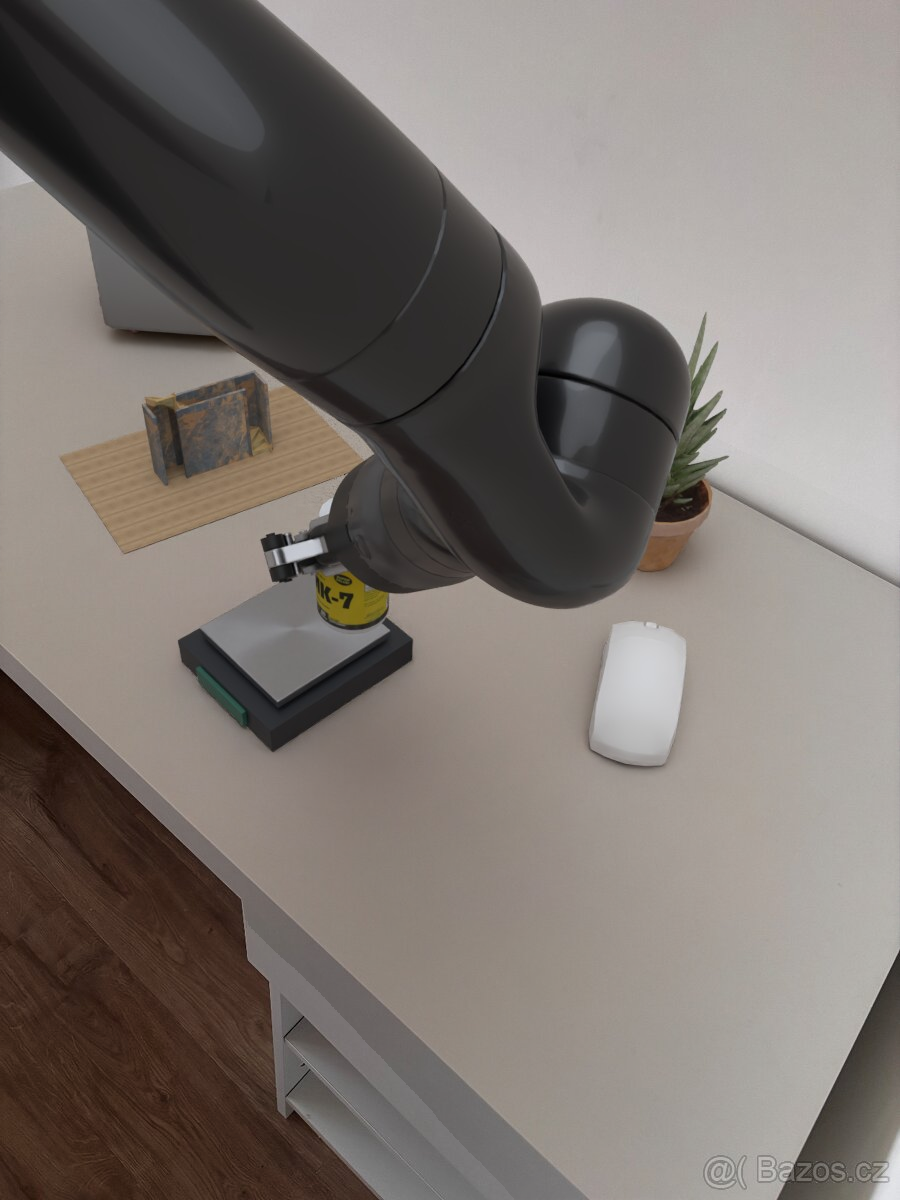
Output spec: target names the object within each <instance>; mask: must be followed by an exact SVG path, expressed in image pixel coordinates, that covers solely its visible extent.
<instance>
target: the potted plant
mask: <svg viewBox="0 0 900 1200" xmlns="http://www.w3.org/2000/svg"><path fill="white" fill-rule="evenodd" d="M707 314H708V312H707V311H705V312H704V314H703V317H702V320H701V323H700V327H699V329H698V333H697V337H696V340H695V343H694V346H693V350H692V353H691V355H690V359H689V361H688V363H687V364H688V367H689V371H690V378H691V397H690V405H689V410H688V413H687V417H686V421H685V424H684V427H683V431H682V434H681V438H680V441H679V444H678V446H677V448H676V454H675V457H674V460H673V463H672V467H671V470H670V473H669V476H668V479H667V482H666V486H665V489H664V492H663V495H662V498H661V502H660V505H659V508H658V511H657V514H656V517H655V522H654V525H653V528H652V532H651V535H650V538H649V541H648V545H647V548H646V551H645V553H644V556H643V558H642V560H641V562H640V564H639V566H638V568H637V571H642V572H648V573H649V572H650V573H651V572H658V571H659V572H660V571H663V570H665V569H668V567H669V566H671V565H672V564H673V562H674V561H675V560H676V558H677V557H678V555H679V554H680V552H681V550H682V549H683V547H684V546H685V545H686V543H687V542H688V541H689V539H690V538H691V536H692V535H693V533H694V532H695V530H697V529H698V528H700V527H701V526H702V525H703V523H704V522H705V521H706V520H707V519H708V517H709V514H710V511H711V507H712V502H713V495H714V494H713V490H712V487H711V484H710V482H709V481H708V480H707V479H706V478H705V477H706V475H707V473H709V472H710V471H711V470H712V469H714V468H715V467H717V466H718V465H719V463H720V462H722V461H724V460H727V459H729V457H730V455H724V456H721V457H716V458H713V459H708V460H703V461H699V462H696V463H692V462H694V460H696V458H698V456H699V455H700V451H699V450H700V448H702V447H703V446H704V445H705V444H706V443H707V442H708V441H710V439H711V438H712V437H713V436H714V435H715V434H716V433H717V431H718V427H716V426H717V425H718V423H719V422H720V420H722V419H723V418H724V416H725V415H726V413H727V411H728V409H727V407H726V408H724V409H722V410H721V411H720V412H718V413H716V414H715V415H712V416H711V417H709V416H710V414H711V413H712V411H713V410H714V409H715V408H716V406H717V404H718V403H719V402H720V399H721V397H722V395H723V394H724V390H723V389H721V390H720V391H718V392H717V393H716V394H715V395H714V396H713V397H712V398H711V399H710V400H709V401H707V403H704V405H702V406H700V407H699V408H698V409H694V408H695V405H696V403H697V401H698V398H699V396H700V393H702V389H703V387H704V385H705V383H706V380H707V378H708V375H709V373H710V370H711V368H712V365H713V363H714V361H715V358H716V355H717V352H718V347H719V341H718V340H716V342H715V344H714V345H713V346H712V348H711V349H710V351H709V353H708V355H707V356H706V358H705V359H704V360H703V362H702V364H701V365H700V367H699V368H698V371H697V373H696V374H695V372H696V369H697V365H698V361H699V357H700V354H701V350H702V346H703V342H704V336H705V332H706V325H707ZM708 417H709V418H708ZM707 418H708V419H707Z"/></svg>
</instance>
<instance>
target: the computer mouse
mask: <svg viewBox="0 0 900 1200" xmlns="http://www.w3.org/2000/svg"><path fill="white" fill-rule="evenodd" d="M686 672H687V642H686V638H684V637H683V636H681V635H680V634H678V633H677V632H676V631H675V630H673V629H672V628H670V627H666V626H663V625H659V624H657V623H656V622H653V621H647V620H646V622H644V621H637V620H627V621H624V622H618V623H617V622H615V623H613V624H612V626H611V629H610V631H609V634H608V637H607V642H604V647H603V651H602V657H601V661H600V671H599V678H598V681H597V687H596V692H595V698H594V703H593V707H592V713H591V718H590V723H589V728H588V731H587V733H588V734H587V735H588V740H589V741H588V742H589V748H590V750H592V751H593V752H596V753H597V754H599V755H601V756H602V757H605V758H608V759H610V760H613V761H616V762H619V763H621V764H626V765H633V766H643V767H656V766H657V767H658V766H663V765H664V764H665V763H666V762H667V759H668V758H669V755H670V753H671V751H672V747H673V744H674V741H675V739H676V735H677V729H678V723H679V717H680V712H681V707H682V702H683V695H684V686H685V681H686V674H687V673H686Z"/></svg>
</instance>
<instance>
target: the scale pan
mask: <svg viewBox="0 0 900 1200" xmlns="http://www.w3.org/2000/svg"><path fill="white" fill-rule="evenodd" d="M292 580H293V581H290V582H286V583H284V582H282V583H279V582H277V583H276V584H274V585H272V586H271V587H269V588H268V589H265V590H264V591H262V592H260V593H259V594H256V595H255V596H252V597H251V598H249V599H248V600H246V601H244V602H242V603H241V604H239V605H237V606H235V607H234V608H232V609H230V610H228V611H226V612H225V613H222V614H221V615H219V616H217V617H215V618H214V619H212V620H209V621H208V622H206V623H204V624H203V625H201V626H200V627H199V628H200V633H201V635H202V636H203V637H204V638H205V639H206V640H207V641H209V642H210V643H211V644H212V645H213V646H214V647H215V648H216V649H217V650H218V651H219V652H220V653H221V654H222V655H223V656H224V657H225V658H226V659H227V660H228V661H229V662H230V663H232V664H233V665H234V666H235V667H236V668H237V669H238V670H239V671H240V672H241V673H242V674H243V675H244V676H245V677H246V678H247V679H248V680H249V681H250V682H251V683H252V684H253V685H255V686H256V687H257V688H258V689H259V690H260V691H261V692H262V693H263V694H264V695H265V696H266V697H267V698H268V699H269V700H270V701H271V702H272V703H273V704H274V705H275V706H276V707H278V708H279V707H281V706H282V705H284V704H286V703H287V702H289V701H290V700H292V699H293V698H295V697H297V696H298V695H300V694H301V693H303V692H304V691H306V690H308V689H309V688H311V687H312V686H314V685H316V684H317V683H319V682H320V681H322V680H323V679H325V678H327V677H328V676H330V675H331V674H333V673H334V672H336V671H338V670H339V669H341V668H342V667H344V666H345V665H347V664H349V663H350V662H352V661H353V660H355V659H356V658H358V657H360V656H361V655H363V654H364V653H366V652H368V651H369V650H371V649H372V648H374V647H375V646H377V645H379V644H380V643H382V642H383V641H385V640H386V639H388V638H390V630H389V629H388V628H387V627H386V626H384V625H383V624H382V623H381V624H380V625H379V626H378V627H377V628H375V629H373V630H371V631H369V632H366V633H361V634H345V633H341V632H338V631H335V630H333V629H331V628H330V627H328V626H327V625H325V624H324V623H323V622H322V620H321V619H320V617H319V615H318V611H317V597H316V579H315V575H312V576H311V574H307V575H302V574H301V575H298V577H295V578H292Z"/></svg>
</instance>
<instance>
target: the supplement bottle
mask: <svg viewBox="0 0 900 1200" xmlns="http://www.w3.org/2000/svg"><path fill="white" fill-rule="evenodd" d="M333 498H334V496H333V497H331V498H329V499H328V500H325V502H324V503H323V504H322V505H321V507H320V509H319V512H318V518H319V517H322V516H324V515H327V514H329V512H330V508H331V504H332V500H333ZM318 572H319V574H316V575H315V579H316V597H317V611H318V615H319V617H320V619H321V620H322V622H323V623H324V624H325V625H327V626H328V627H330V628H331V629H333V630H335V631H338V632H341V633H345V634H361V633H366V632H369V631H371V630H373V629H375V628H377V627H378V626H379V625H380V624H381V623H382V622H383V621H384V620H385V618H386V617H387V618H388V615H389V610H390V593H387V592H382V591H379V590H376V589H374V588H372V587H369V586H367V585H366V584H364V583H362V582H361V581H360V580H358V579H357V578H356V577H354V576H353V575H352V574H351V573H350V572H349V571H348V572H344V573H341V574H337V575H333V576H330V577H326V576H324V575H323V573H322V572H321V571H318Z"/></svg>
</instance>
